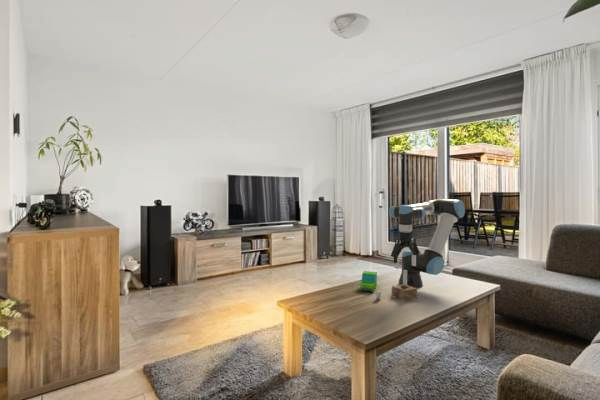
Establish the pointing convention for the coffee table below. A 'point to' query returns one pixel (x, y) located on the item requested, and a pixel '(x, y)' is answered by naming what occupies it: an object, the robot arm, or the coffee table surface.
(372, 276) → the toy car
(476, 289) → the coffee table surface
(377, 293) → the short pin
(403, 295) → the hole block
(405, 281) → the long pin
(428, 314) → the coffee table surface
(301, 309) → the coffee table surface
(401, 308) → the coffee table surface
